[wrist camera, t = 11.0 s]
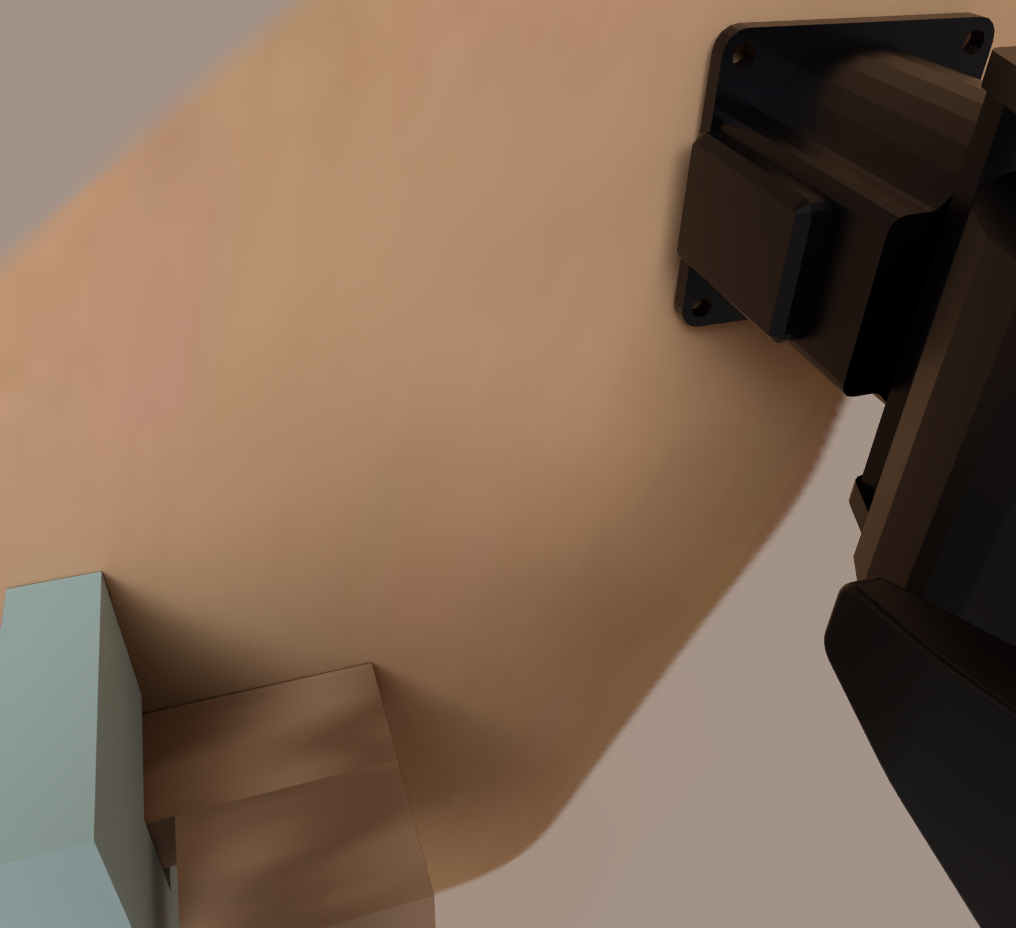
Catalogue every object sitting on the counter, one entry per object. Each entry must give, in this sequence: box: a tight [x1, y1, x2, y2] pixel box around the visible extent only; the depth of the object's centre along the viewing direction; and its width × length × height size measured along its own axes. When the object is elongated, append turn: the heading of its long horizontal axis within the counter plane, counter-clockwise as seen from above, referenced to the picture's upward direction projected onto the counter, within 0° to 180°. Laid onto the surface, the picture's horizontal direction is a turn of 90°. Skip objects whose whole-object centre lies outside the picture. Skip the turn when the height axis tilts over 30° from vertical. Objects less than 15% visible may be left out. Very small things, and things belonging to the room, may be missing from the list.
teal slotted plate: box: [0, 572, 180, 928], centre depth 22 cm, size 12×2×7 cm, turn 178°
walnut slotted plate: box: [142, 663, 435, 928], centre depth 22 cm, size 14×2×7 cm, turn 88°
